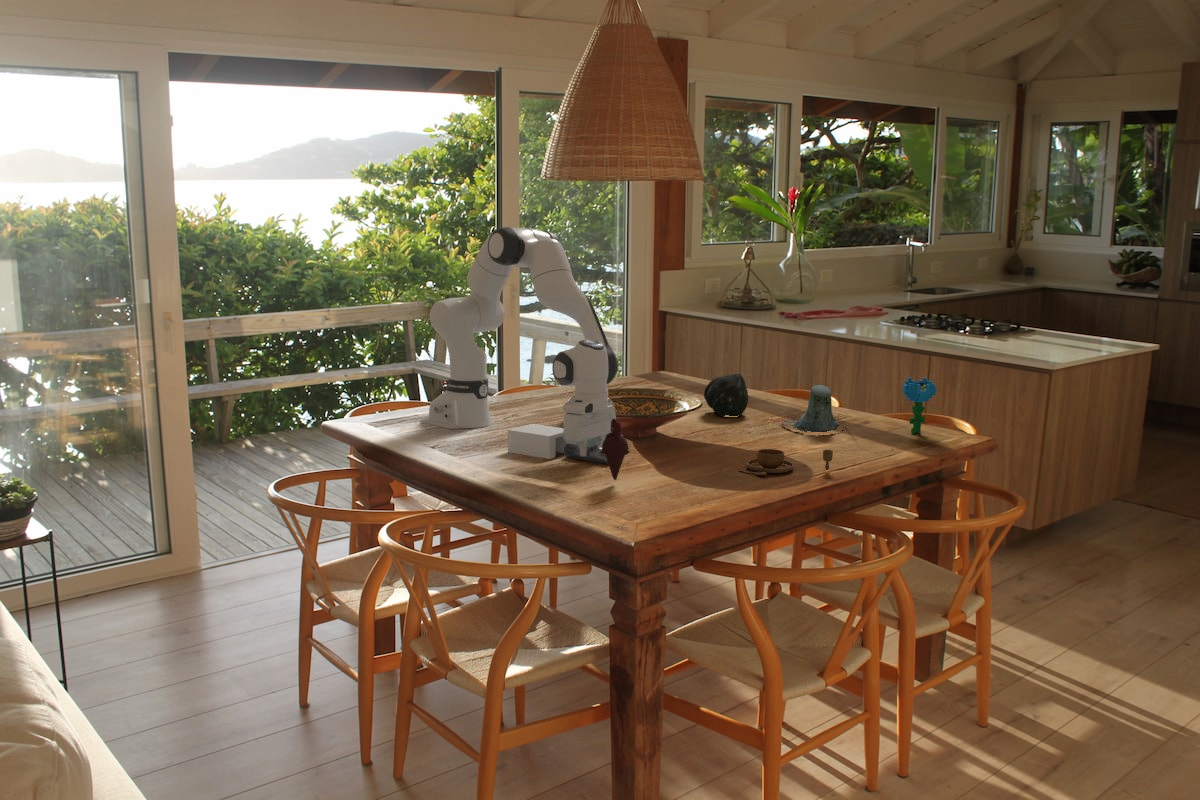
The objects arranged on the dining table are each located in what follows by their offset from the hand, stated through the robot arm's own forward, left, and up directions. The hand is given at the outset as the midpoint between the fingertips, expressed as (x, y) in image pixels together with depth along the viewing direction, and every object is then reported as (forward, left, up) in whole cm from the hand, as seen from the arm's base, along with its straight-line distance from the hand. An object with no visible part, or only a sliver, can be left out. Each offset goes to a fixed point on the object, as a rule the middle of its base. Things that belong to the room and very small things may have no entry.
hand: (590, 453), depth 274 cm
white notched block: (-16, 0, -2) cm, 17 cm away
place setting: (+46, +20, -2) cm, 51 cm away
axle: (0, 0, -2) cm, 2 cm away
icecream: (+17, -14, -2) cm, 22 cm away
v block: (-9, +16, -2) cm, 19 cm away
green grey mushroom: (+32, +73, -4) cm, 80 cm away
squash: (+4, +73, -2) cm, 73 cm away
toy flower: (+63, +79, -2) cm, 101 cm away
